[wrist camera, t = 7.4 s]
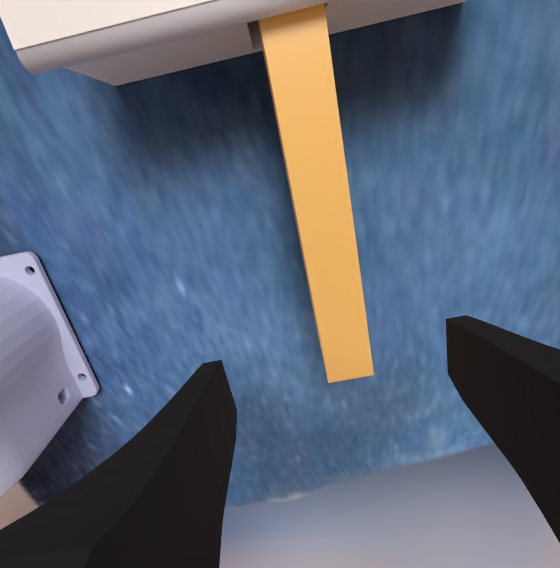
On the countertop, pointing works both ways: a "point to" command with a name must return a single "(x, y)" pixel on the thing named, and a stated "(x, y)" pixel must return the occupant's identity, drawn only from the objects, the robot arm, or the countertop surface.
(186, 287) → the countertop surface
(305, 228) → the tab
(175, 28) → the dispenser
